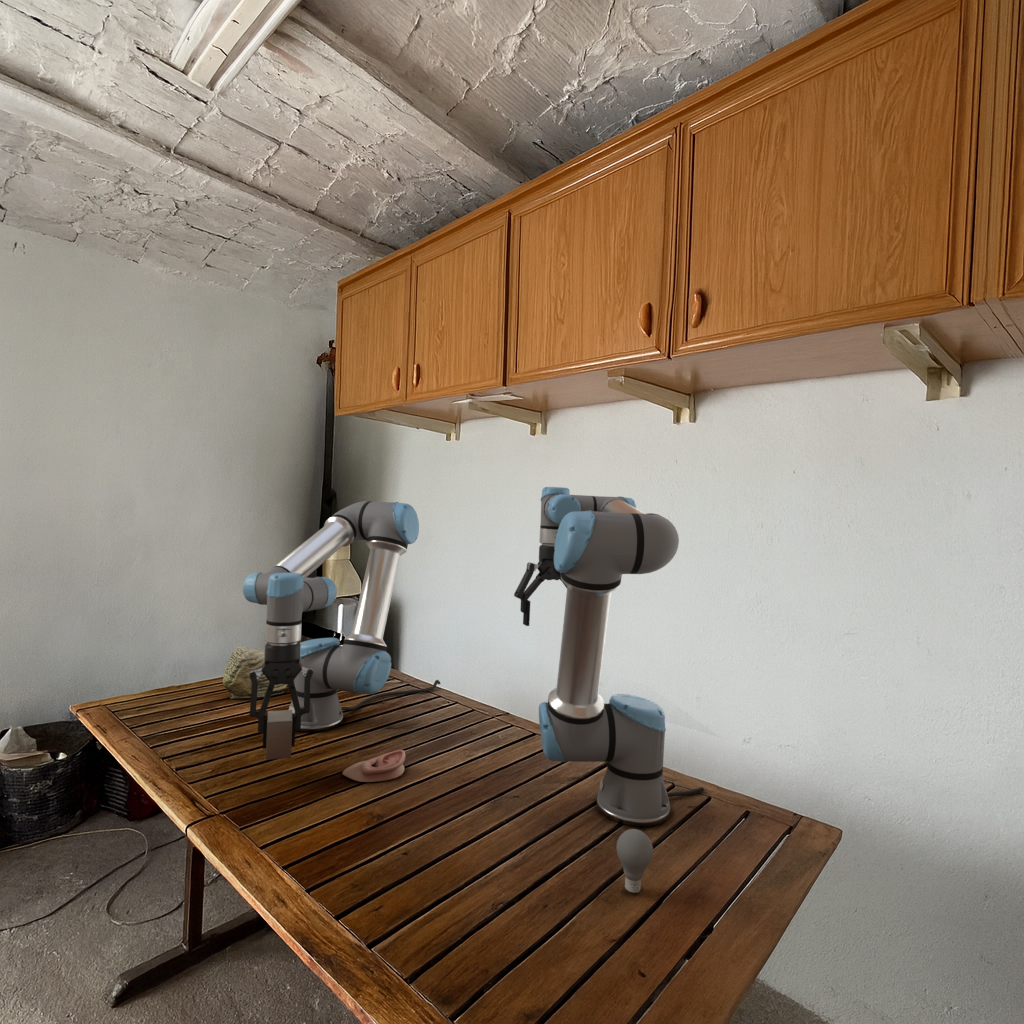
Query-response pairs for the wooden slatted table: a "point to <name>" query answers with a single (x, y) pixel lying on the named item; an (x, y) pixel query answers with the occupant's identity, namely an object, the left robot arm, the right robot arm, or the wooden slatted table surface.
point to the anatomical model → (377, 768)
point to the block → (279, 734)
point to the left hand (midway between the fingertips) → (278, 745)
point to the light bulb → (634, 857)
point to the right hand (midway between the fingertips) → (549, 624)
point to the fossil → (246, 673)
